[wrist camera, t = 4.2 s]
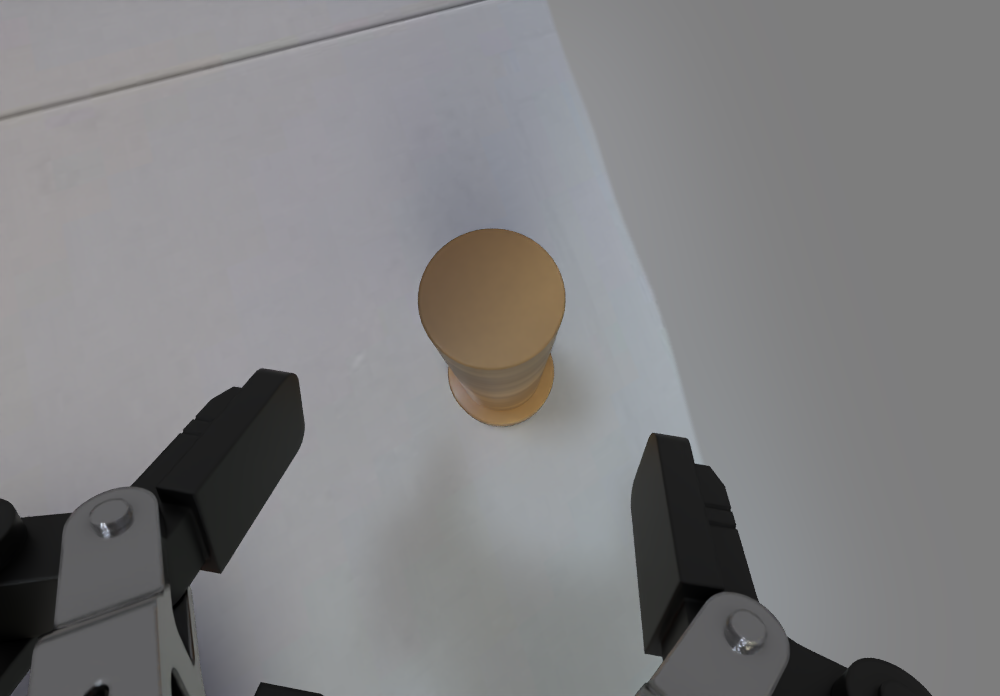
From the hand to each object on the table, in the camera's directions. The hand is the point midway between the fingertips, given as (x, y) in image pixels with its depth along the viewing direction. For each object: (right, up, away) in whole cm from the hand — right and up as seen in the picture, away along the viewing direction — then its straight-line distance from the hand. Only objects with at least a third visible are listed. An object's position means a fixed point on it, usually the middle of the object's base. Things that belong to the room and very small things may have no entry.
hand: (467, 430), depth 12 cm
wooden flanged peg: (+1, +1, +14) cm, 14 cm away
